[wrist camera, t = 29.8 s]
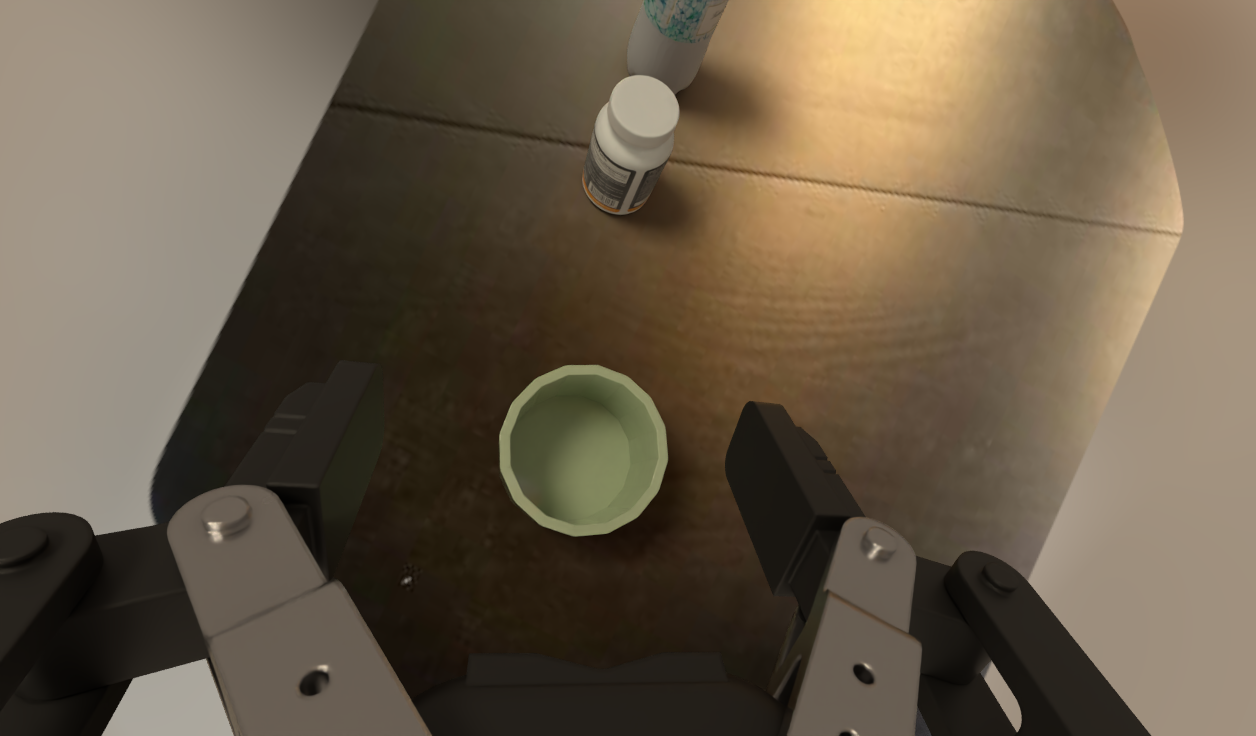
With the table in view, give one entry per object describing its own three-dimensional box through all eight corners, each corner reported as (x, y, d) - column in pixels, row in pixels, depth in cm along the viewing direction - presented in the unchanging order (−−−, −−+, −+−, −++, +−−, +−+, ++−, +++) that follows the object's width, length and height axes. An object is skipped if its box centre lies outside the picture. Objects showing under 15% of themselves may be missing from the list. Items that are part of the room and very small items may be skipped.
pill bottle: (636, 150, 47) (672, 62, 37) (657, 211, 46) (699, 137, 36) (572, 160, 45) (592, 71, 36) (592, 223, 44) (618, 149, 35)
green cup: (476, 501, 38) (472, 502, 30) (528, 370, 40) (536, 340, 33) (610, 546, 39) (638, 558, 31) (652, 416, 42) (686, 398, 34)
